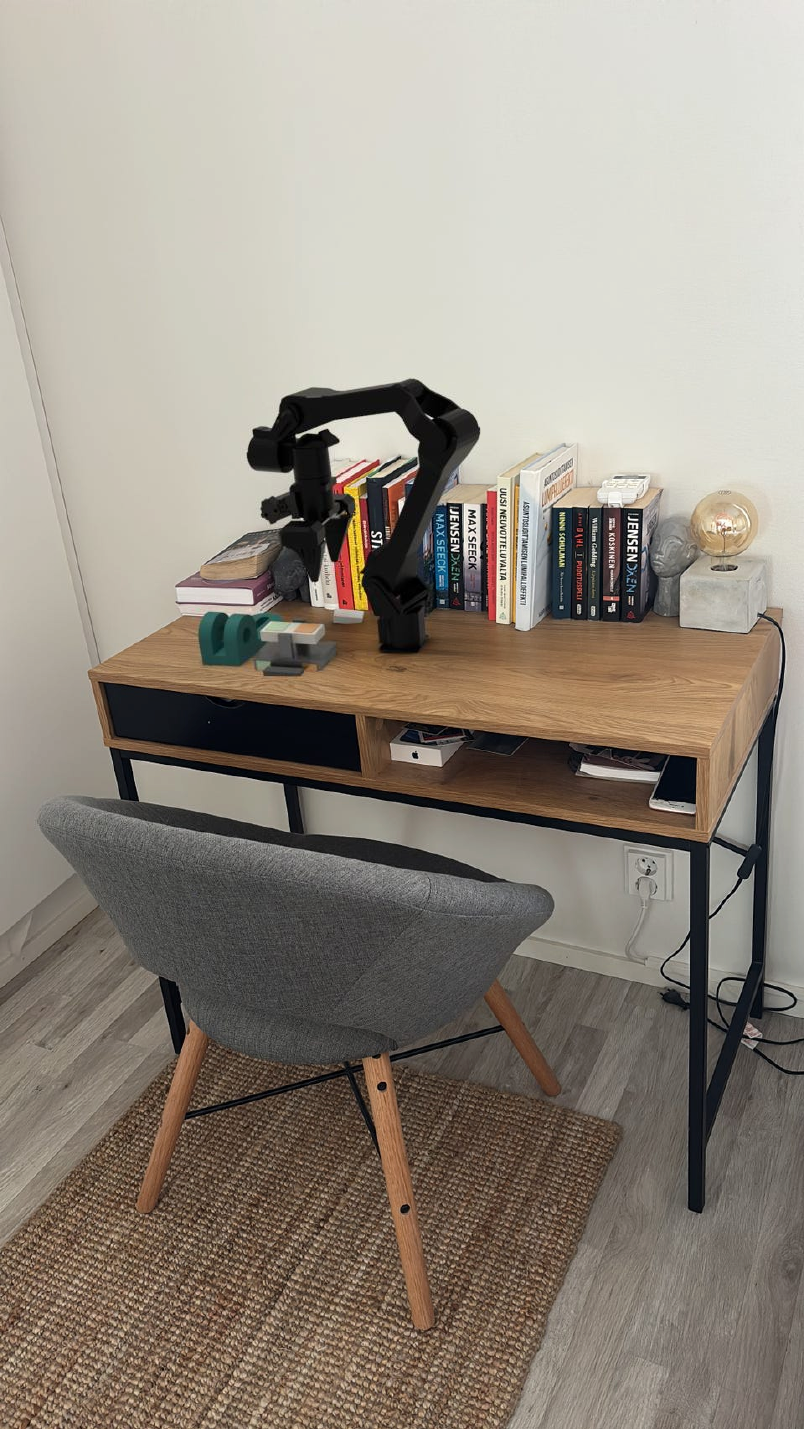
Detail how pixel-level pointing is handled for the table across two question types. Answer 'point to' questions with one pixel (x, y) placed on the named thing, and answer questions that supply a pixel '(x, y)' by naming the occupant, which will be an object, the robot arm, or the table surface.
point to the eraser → (347, 616)
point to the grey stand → (294, 653)
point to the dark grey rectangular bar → (282, 671)
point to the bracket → (232, 637)
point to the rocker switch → (293, 632)
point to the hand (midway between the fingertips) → (324, 571)
